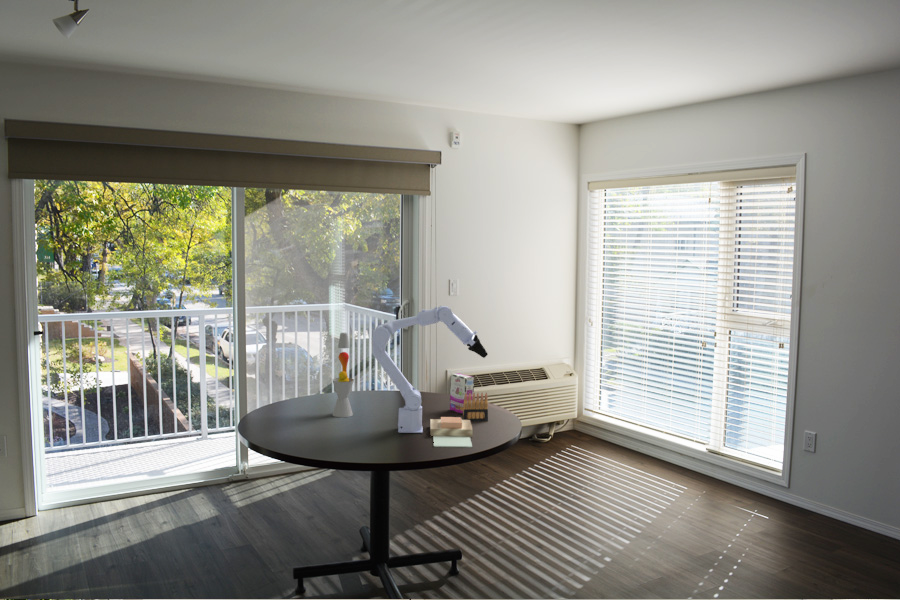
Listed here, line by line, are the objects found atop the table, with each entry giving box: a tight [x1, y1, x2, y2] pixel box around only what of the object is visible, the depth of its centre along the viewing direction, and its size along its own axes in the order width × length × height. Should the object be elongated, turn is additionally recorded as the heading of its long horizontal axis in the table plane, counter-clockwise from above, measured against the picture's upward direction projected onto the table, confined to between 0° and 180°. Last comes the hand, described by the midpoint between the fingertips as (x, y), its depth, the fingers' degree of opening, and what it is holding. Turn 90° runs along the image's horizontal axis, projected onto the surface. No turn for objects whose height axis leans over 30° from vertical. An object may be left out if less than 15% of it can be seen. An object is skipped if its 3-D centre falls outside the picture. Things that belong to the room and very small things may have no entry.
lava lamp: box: [332, 332, 355, 418], centre depth 271 cm, size 9×9×35 cm
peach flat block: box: [440, 416, 462, 428], centre depth 250 cm, size 8×8×2 cm
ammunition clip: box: [461, 392, 489, 422], centre depth 268 cm, size 11×2×12 cm, turn 101°
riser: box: [429, 418, 474, 438], centre depth 251 cm, size 16×14×3 cm
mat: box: [432, 436, 473, 448], centre depth 238 cm, size 14×12×1 cm
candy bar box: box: [449, 372, 475, 415], centre depth 282 cm, size 11×5×16 cm, turn 37°
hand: (484, 354), depth 251 cm, fingers open, 7 cm apart
